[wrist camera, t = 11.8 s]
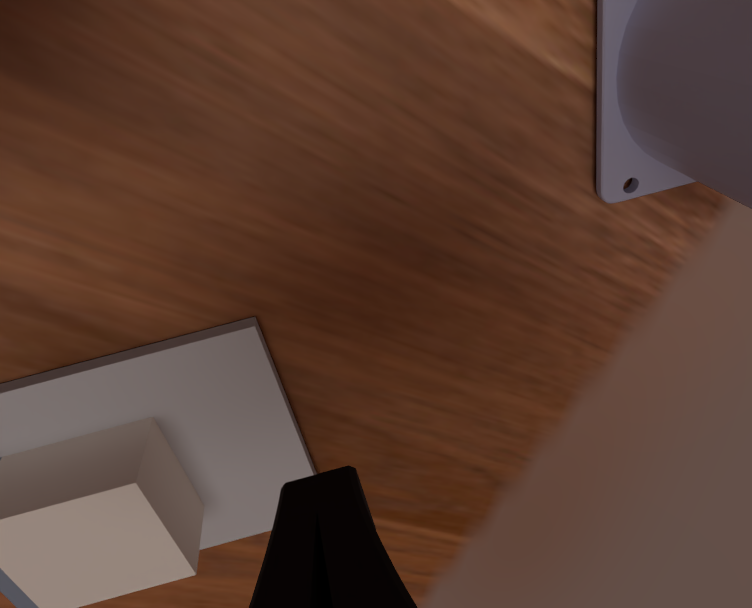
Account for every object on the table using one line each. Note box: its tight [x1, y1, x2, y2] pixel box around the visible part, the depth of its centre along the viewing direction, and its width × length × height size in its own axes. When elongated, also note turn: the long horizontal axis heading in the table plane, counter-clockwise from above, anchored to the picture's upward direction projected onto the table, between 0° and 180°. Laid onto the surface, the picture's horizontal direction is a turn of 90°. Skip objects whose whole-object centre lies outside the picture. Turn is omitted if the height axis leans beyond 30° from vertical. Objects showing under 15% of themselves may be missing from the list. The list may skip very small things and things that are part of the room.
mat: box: [0, 317, 317, 550], centre depth 21 cm, size 12×10×1 cm
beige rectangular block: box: [0, 417, 204, 608], centre depth 20 cm, size 3×5×6 cm
